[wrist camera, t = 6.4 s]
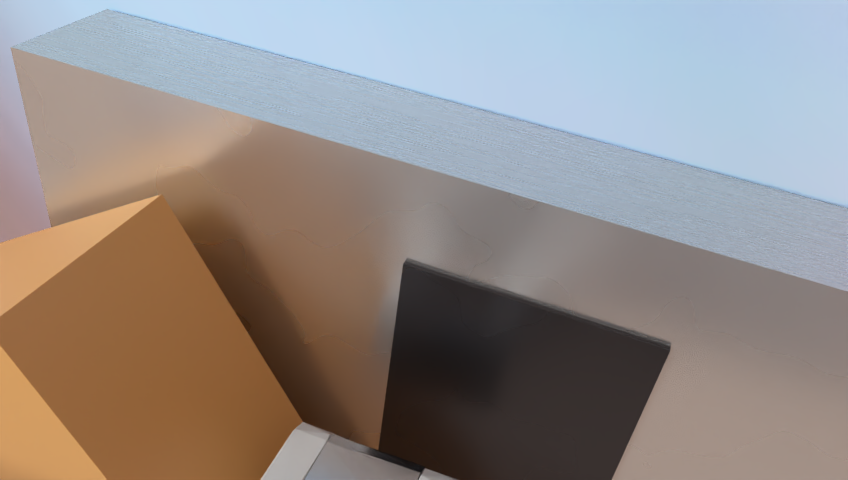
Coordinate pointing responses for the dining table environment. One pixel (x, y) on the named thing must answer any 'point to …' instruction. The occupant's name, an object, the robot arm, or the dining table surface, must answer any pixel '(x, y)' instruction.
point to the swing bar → (128, 358)
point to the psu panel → (464, 263)
